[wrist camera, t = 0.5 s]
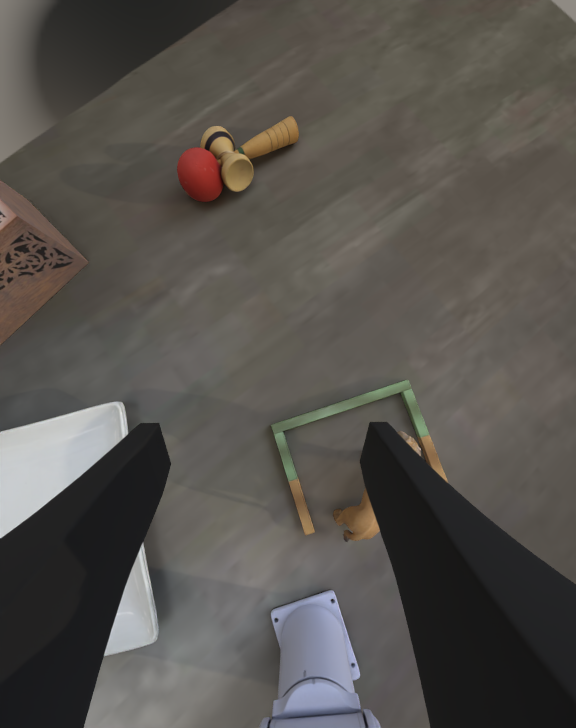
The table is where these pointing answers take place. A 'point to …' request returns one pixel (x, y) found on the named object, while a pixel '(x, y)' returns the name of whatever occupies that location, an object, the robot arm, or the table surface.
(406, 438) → the lion figurine
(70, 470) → the square plate
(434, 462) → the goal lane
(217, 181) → the kendama
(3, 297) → the tissue box cover
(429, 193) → the table surface
